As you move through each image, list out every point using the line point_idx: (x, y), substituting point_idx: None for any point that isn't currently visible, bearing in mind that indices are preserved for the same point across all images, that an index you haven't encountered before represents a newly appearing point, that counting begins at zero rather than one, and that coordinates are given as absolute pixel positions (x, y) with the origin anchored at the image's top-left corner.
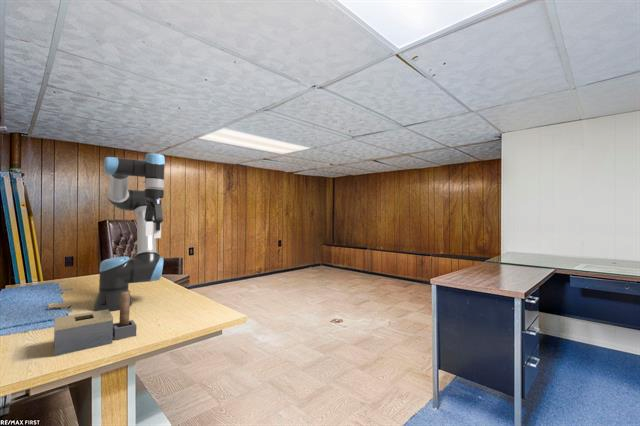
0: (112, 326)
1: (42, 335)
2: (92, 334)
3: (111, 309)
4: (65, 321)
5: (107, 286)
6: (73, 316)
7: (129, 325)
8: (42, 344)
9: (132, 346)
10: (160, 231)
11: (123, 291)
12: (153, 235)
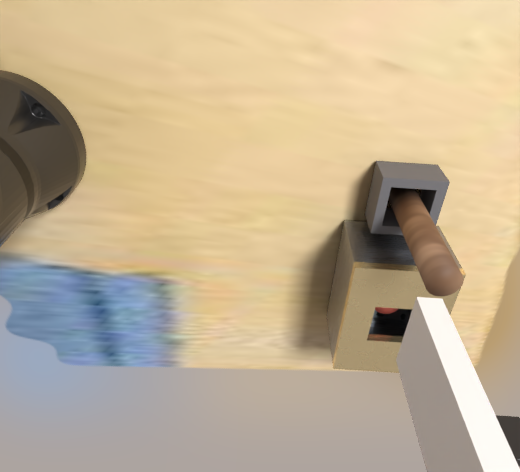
0: (454, 256)
1: (232, 323)
2: None
3: (83, 165)
4: (392, 357)
5: (18, 225)
6: (357, 340)
7: (435, 199)
8: (302, 327)
9: (508, 192)
10: (476, 383)
11: (430, 285)
12: (411, 390)
